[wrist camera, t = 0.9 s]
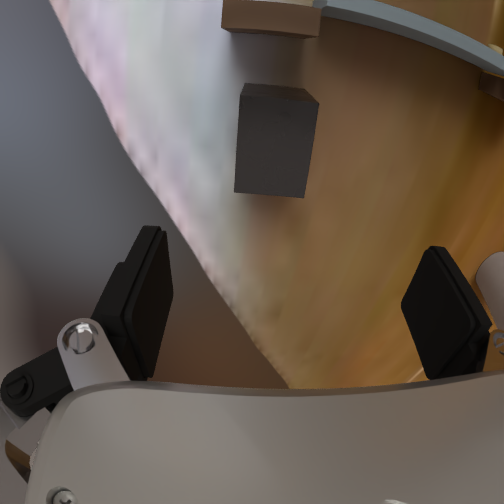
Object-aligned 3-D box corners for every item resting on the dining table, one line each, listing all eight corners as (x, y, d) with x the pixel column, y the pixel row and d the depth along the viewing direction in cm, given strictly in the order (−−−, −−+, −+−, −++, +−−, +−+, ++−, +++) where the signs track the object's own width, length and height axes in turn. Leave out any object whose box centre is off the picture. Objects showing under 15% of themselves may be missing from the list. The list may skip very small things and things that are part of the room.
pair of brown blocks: (231, 10, 19) (223, -1, 14) (517, 91, 20) (557, 109, 15) (230, 32, 21) (220, 27, 16) (514, 107, 22) (553, 127, 16)
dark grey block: (244, 83, 24) (240, 95, 18) (304, 88, 24) (319, 103, 18) (239, 158, 28) (234, 192, 22) (294, 162, 28) (303, 198, 22)
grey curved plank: (313, -9, 18) (329, -24, 13) (490, 51, 18) (529, 62, 14) (311, 14, 19) (326, 5, 14) (487, 71, 20) (526, 84, 15)
